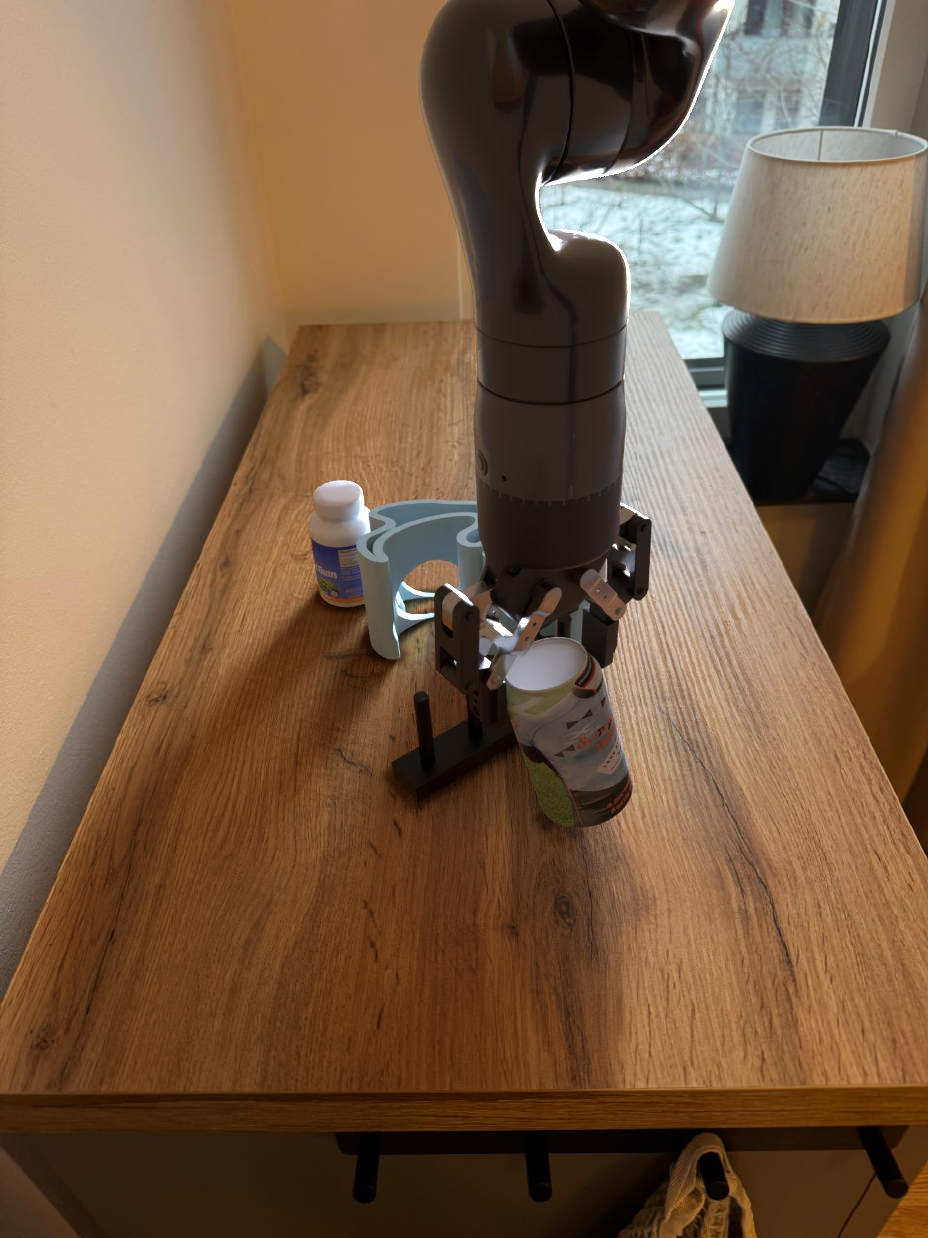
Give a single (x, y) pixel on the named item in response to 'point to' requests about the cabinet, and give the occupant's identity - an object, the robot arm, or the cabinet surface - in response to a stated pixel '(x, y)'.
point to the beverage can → (568, 733)
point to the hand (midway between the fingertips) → (546, 689)
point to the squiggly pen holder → (411, 540)
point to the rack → (453, 744)
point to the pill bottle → (338, 541)
